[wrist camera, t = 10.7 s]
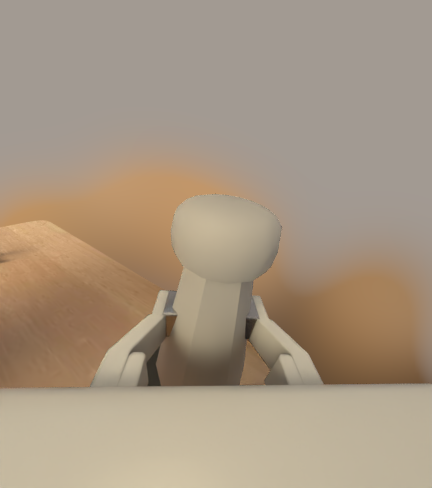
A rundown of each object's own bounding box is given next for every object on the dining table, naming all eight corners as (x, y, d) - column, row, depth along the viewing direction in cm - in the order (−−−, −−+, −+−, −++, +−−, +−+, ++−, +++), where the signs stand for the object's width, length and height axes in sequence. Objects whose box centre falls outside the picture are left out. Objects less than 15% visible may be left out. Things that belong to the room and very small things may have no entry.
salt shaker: (186, 459, 9) (236, 270, 3) (144, 364, 12) (120, 184, 6) (251, 377, 13) (336, 218, 6) (204, 322, 16) (229, 184, 10)
